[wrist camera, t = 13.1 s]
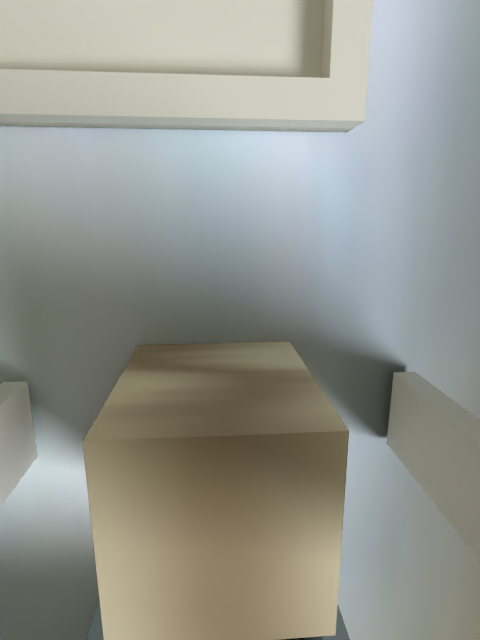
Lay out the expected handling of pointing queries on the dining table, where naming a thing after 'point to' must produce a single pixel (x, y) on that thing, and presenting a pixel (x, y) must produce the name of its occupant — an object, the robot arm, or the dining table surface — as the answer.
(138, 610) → the block
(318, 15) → the tray
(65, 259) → the dining table surface
